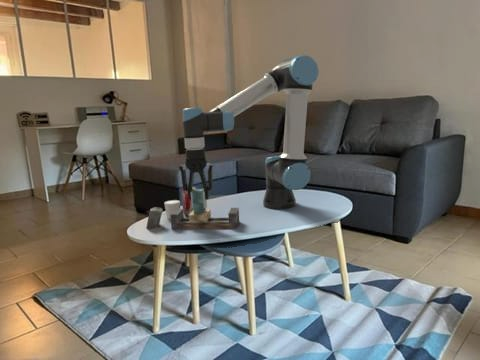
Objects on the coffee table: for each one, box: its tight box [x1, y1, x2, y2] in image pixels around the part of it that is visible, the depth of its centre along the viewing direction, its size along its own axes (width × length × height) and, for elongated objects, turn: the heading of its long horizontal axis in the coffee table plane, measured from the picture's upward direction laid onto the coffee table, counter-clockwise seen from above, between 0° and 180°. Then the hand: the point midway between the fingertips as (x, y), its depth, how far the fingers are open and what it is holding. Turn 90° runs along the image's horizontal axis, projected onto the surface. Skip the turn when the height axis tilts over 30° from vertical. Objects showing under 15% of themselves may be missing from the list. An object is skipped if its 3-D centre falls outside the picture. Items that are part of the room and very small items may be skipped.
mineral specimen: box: [146, 206, 164, 229], centre depth 147 cm, size 7×9×8 cm
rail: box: [170, 207, 240, 230], centre depth 145 cm, size 26×8×6 cm, turn 83°
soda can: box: [181, 186, 197, 217], centre depth 161 cm, size 7×7×12 cm
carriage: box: [188, 188, 212, 223], centre depth 144 cm, size 7×8×12 cm
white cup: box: [164, 199, 181, 220], centre depth 158 cm, size 7×7×7 cm
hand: (199, 207), depth 144 cm, fingers closed on carriage, 4 cm apart
